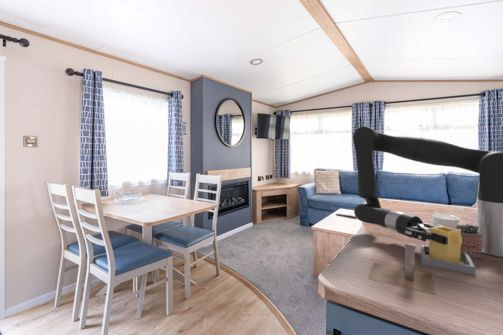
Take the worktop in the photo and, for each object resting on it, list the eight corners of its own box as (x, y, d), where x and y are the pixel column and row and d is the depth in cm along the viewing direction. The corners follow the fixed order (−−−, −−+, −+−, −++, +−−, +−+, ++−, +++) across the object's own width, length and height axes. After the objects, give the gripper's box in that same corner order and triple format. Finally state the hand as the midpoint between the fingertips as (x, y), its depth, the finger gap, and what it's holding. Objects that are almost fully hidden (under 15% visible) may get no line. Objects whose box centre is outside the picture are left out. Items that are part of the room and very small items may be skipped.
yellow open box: (429, 259, 75) (429, 227, 74) (441, 256, 77) (442, 225, 76) (452, 269, 69) (454, 234, 68) (465, 266, 70) (467, 232, 69)
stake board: (431, 277, 66) (432, 240, 66) (434, 298, 57) (436, 255, 56) (373, 265, 74) (374, 231, 73) (368, 282, 65) (369, 244, 64)
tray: (466, 261, 75) (466, 251, 75) (474, 278, 65) (475, 267, 65) (420, 253, 81) (420, 244, 81) (422, 267, 72) (422, 257, 71)
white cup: (433, 238, 95) (434, 212, 94) (459, 243, 89) (461, 216, 88) (429, 243, 89) (430, 217, 88) (457, 249, 84) (458, 221, 83)
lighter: (476, 252, 81) (477, 223, 80) (484, 257, 78) (486, 226, 77) (450, 252, 82) (451, 222, 81) (457, 256, 78) (458, 226, 78)
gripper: (386, 215, 84) (437, 230, 68) (418, 211, 88) (472, 224, 72) (386, 236, 85) (436, 256, 68) (417, 231, 89) (471, 249, 73)
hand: (454, 239), depth 70 cm, fingers open, 5 cm apart
